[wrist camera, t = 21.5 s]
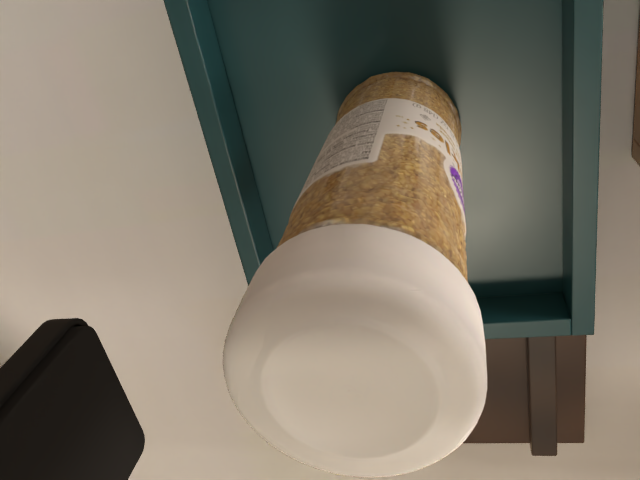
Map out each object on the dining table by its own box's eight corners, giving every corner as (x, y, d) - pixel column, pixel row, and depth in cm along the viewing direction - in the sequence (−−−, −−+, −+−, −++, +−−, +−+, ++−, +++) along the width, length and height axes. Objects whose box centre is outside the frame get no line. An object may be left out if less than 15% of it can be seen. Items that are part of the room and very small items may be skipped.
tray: (95, -350, 16) (42, -390, 14) (592, -539, 13) (624, -627, 11) (279, 315, 27) (265, 352, 25) (580, 298, 24) (595, 338, 22)
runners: (180, -79, 22) (160, -78, 20) (590, -177, 18) (604, -185, 17) (317, 430, 33) (311, 455, 32) (580, 428, 30) (588, 456, 28)
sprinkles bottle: (483, 152, 21) (539, 450, 10) (374, 207, 23) (310, 513, 11) (421, 40, 20) (399, 232, 8) (310, 108, 21) (161, 344, 10)
